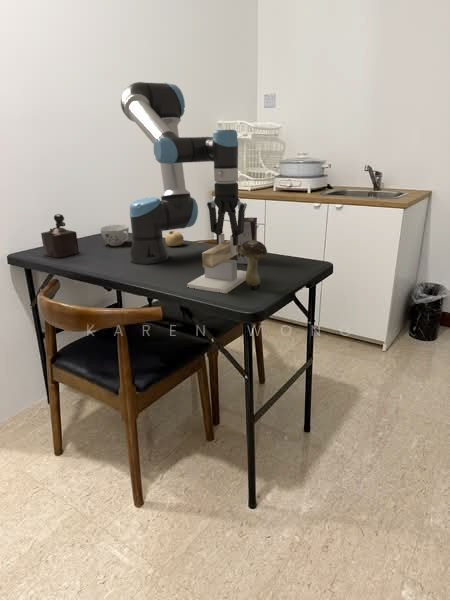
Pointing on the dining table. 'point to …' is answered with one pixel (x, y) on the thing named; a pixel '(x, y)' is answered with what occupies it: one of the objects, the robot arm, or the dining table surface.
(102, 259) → the dining table surface
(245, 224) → the coffee box
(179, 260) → the dining table surface
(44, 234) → the brown coffee grinder
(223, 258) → the beech bar
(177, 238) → the onion
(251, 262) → the mushroom
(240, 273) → the fulcrum
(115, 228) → the teacup
